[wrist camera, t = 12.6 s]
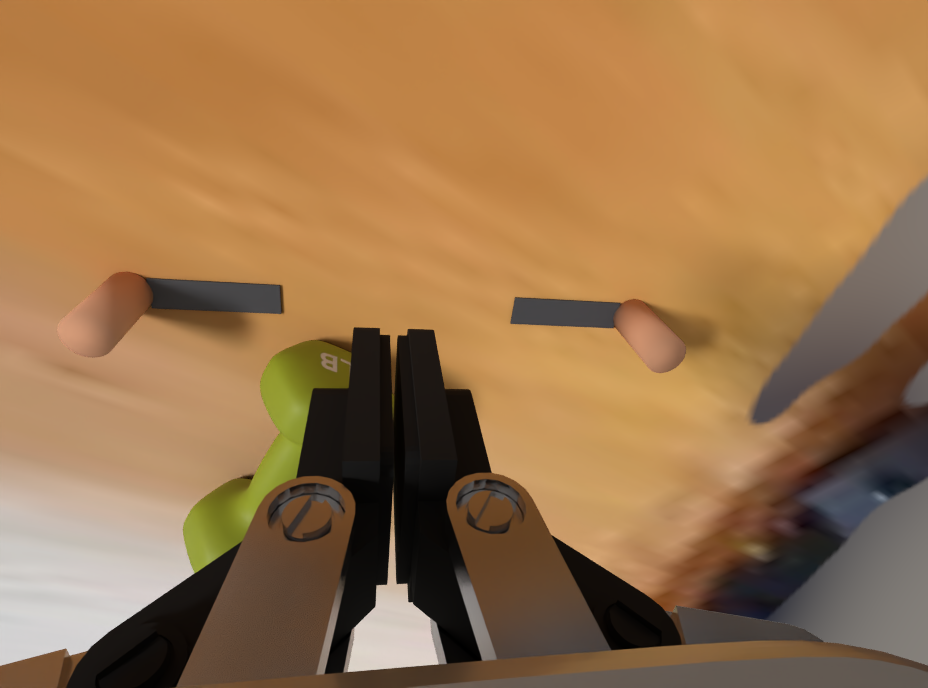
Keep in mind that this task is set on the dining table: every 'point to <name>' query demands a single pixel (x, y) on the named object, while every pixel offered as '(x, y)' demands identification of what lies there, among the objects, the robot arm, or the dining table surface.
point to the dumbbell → (287, 402)
